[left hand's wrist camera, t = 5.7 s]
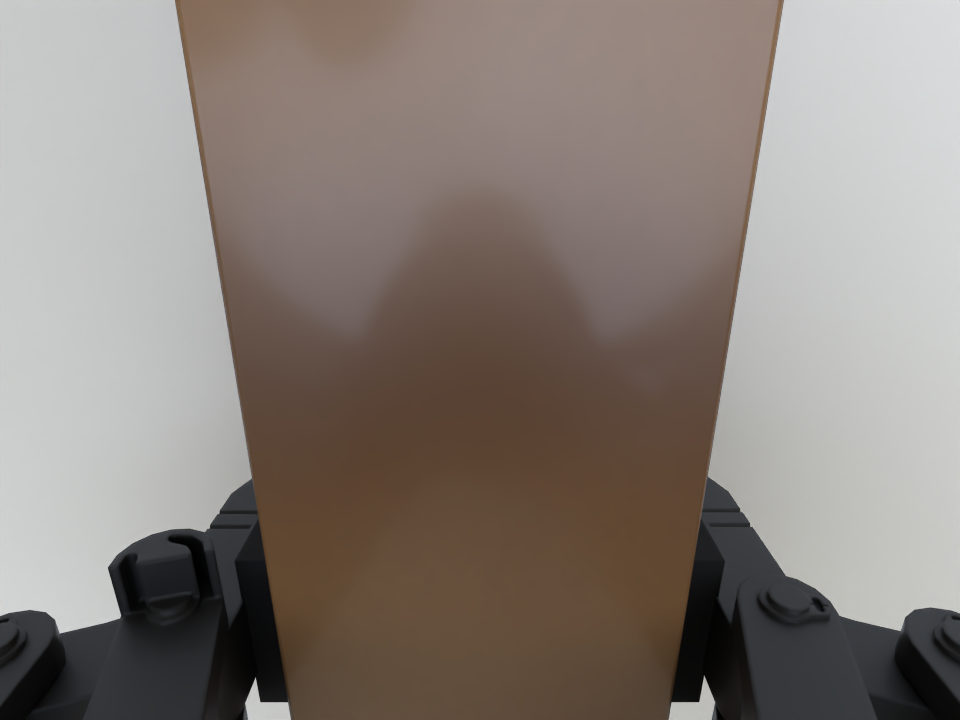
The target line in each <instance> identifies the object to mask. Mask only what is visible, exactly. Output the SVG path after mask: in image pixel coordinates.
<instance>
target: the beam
mask: <svg viewBox="0 0 960 720" xmlns="http://www.w3.org/2000/svg"><path fill="white" fill-rule="evenodd" d="M783 2H784V0H175V3H176V9H177V15H178V21H179V28H180V34H181V40H182V46H183V52H184V59H185V65H186V71H187V77H188V83H189V90H190V96H191V102H192V108H193V114H194V121H195V127H196V133H197V139H198V145H199V152H200V158H201V164H202V170H203V176H204V183H205V189H206V195H207V201H208V207H209V214H210V220H211V226H212V232H213V238H214V245H215V251H216V257H217V263H218V270H219V276H220V282H221V288H222V294H223V301H224V307H225V313H226V319H227V325H228V332H229V338H230V344H231V350H232V356H233V363H234V369H235V375H236V381H237V387H238V394H239V400H240V406H241V412H242V418H243V425H244V431H245V437H246V443H247V449H248V456H249V462H250V468H251V474H252V480H253V487H254V493H255V499H256V505H257V511H258V518H259V524H260V530H261V536H262V542H263V549H264V555H265V561H266V567H267V573H268V580H269V586H270V592H271V598H272V604H273V611H274V617H275V623H276V629H277V635H278V642H279V648H280V654H281V660H282V666H283V673H284V679H285V685H286V691H287V697H288V704H289V710H290V716H291V720H668V719H669V713H670V707H671V701H672V695H673V688H674V682H675V676H676V670H677V663H678V657H679V651H680V645H681V638H682V632H683V626H684V620H685V613H686V607H687V601H688V595H689V588H690V582H691V576H692V570H693V564H694V557H695V551H696V545H697V539H698V532H699V526H700V520H701V514H702V507H703V501H704V495H705V489H706V482H707V476H708V470H709V464H710V457H711V451H712V445H713V439H714V433H715V426H716V420H717V414H718V408H719V401H720V395H721V389H722V383H723V376H724V370H725V364H726V358H727V351H728V345H729V339H730V333H731V326H732V320H733V314H734V308H735V302H736V295H737V289H738V283H739V277H740V270H741V264H742V258H743V252H744V245H745V239H746V233H747V227H748V220H749V214H750V208H751V202H752V195H753V189H754V183H755V177H756V171H757V164H758V158H759V152H760V146H761V139H762V133H763V127H764V121H765V114H766V108H767V102H768V96H769V89H770V83H771V77H772V71H773V64H774V58H775V52H776V46H777V40H778V33H779V27H780V21H781V15H782V8H783Z"/></svg>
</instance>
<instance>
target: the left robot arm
mask: <svg viewBox="0 0 960 720" xmlns="http://www.w3.org/2000/svg"><path fill="white" fill-rule="evenodd" d="M108 570H109V573H110V577H111V581H112V584H113V588H114V591H115V595H116V598H117V602H118V605H119V609H120V613H121V618H120V619H117V620H114V621H111V622H107V623H104V624H99V625H95V626H91V627H87V628H82V629H78V630H74V631H69V632H65V633H61V634H59V631H58V628H57V625H56V622H55V620H54V619H53V618H52V617H51V616H50V615H48V614H47V613H46V612H39V611H32V610H27V611H21V612H14V613H8V614H5V615H3V616H0V720H248V717H247V711H246V706H245V702H246V700H247V697H248V695H249V692H250V690H251V687H252V685H253V682H254V680H255V677H256V681H257V686H258V691H259V697H260V702H288V697H287V691H286V685H285V679H284V673H283V666H282V660H281V654H280V648H279V642H278V635H277V629H276V623H275V617H274V611H273V604H272V598H271V592H270V586H269V580H268V573H267V567H266V561H265V555H264V549H263V542H262V536H261V530H260V524H259V518H258V511H257V505H256V499H255V493H254V487H253V480H252V479H251V480H250V481H248V482H247V483H245V484H244V485H243V486H241V487H240V488H239V489H237V490H236V491H234V492H233V493H232V494H231V495H230V497H229V498H228V500H227V501H226V503H225V504H224V506H223V507H222V508H221V510H220V514H217V516H216V517H215V519H214V520H213V522H212V523H211V525H210V529H207V531H206V532H205V533H204V532H201V531H197V530H193V529H174V530H168V531H164V532H160V533H156V534H152V535H150V536H148V537H146V538H143V539H141V540H139V541H137V542H135V543H133V544H131V545H130V546H129V547H127V548H126V549H125V550H123V551H122V552H121V553H119V554H118V555H117V556H116V557H115V559H114V560H113V561H112V563H111V564H110V566H109V567H108ZM704 676H705V678H706V680H707V683H708V685H709V688H710V690H711V693H712V695H713V698H714V700H715V706H714V711H713V716H712V720H960V614H959V613H957V612H954V611H950V610H943V609H937V608H924V609H917V610H914V611H913V612H911V613H910V614H909V615H908V616H906V617H905V620H904V623H903V626H902V629H901V631H897V630H893V629H888V628H884V627H880V626H875V625H871V624H867V623H862V622H858V621H854V620H851V619H847V618H844V617H841V616H839V615H838V613H837V611H836V610H835V608H834V607H833V605H832V604H831V602H830V601H829V600H828V599H827V598H826V597H824V596H823V595H822V594H821V593H820V592H818V591H817V590H816V589H815V588H813V587H811V586H809V585H807V584H805V583H803V582H801V581H799V580H797V579H794V578H790V577H787V576H785V574H784V573H783V571H782V570H781V568H780V567H779V565H778V564H777V562H776V561H775V559H774V558H773V556H772V555H771V554H770V552H769V551H768V549H767V548H766V546H765V545H764V543H763V542H762V540H761V539H760V537H759V536H758V534H757V533H756V532H755V530H754V529H753V527H750V523H749V521H748V520H747V518H746V517H745V515H744V514H743V512H740V508H739V507H738V505H737V504H736V502H735V501H734V499H733V498H732V496H731V495H730V493H729V492H728V491H727V490H725V489H724V488H723V487H721V486H720V485H718V484H717V483H716V482H714V481H713V480H711V479H710V478H709V477H707V482H706V489H705V495H704V501H703V507H702V514H701V520H700V526H699V532H698V539H697V545H696V551H695V557H694V564H693V570H692V576H691V582H690V588H689V595H688V601H687V607H686V613H685V620H684V626H683V632H682V638H681V645H680V651H679V657H678V663H677V670H676V676H675V682H674V688H673V695H672V701H671V702H699V700H700V695H701V689H702V684H703V678H704Z"/></svg>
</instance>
